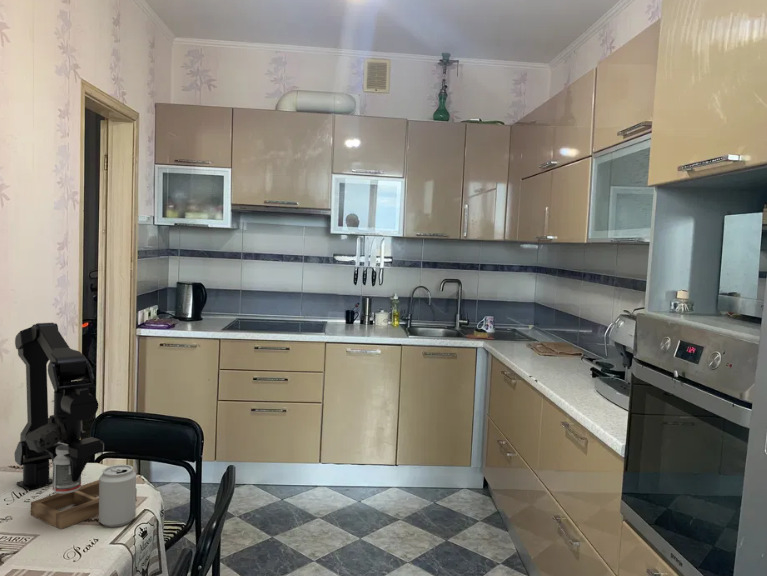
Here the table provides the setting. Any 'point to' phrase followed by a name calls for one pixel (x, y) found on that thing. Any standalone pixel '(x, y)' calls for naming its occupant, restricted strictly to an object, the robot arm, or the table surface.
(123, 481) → the can
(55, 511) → the wooden divided tray
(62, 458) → the pill bottle
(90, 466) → the table surface
